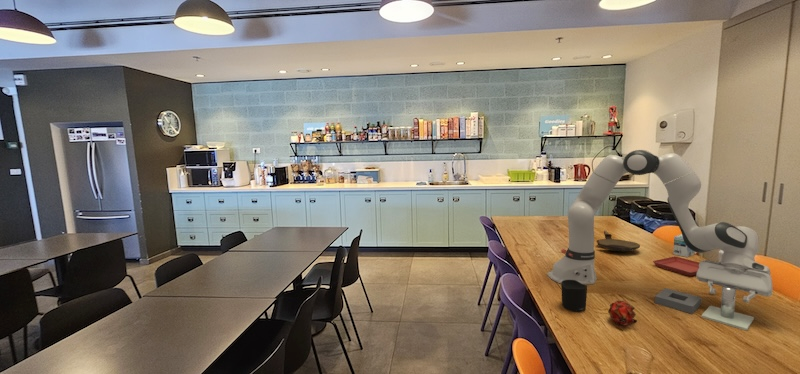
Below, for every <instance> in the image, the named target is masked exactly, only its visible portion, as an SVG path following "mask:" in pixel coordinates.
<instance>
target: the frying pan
mask: <svg viewBox="0 0 800 374" xmlns="http://www.w3.org/2000/svg"><path fill="white" fill-rule="evenodd" d="M603 234H604V238H601V239H597V240H596V244H597V246H600V247H602V248H604V249H607V250H609V251H612V252H630V251H635V250H637V249H639V248H640V247H641V244H640V243H637V242H634V241H630V240H629V241H628V240H625V239H624V240H623V239H616V238H615V239H614V238H612V234H611V233H609V232H608V231H607V230H603Z"/></svg>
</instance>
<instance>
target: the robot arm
mask: <svg viewBox="0 0 800 374" xmlns="http://www.w3.org/2000/svg"><path fill="white" fill-rule="evenodd" d="M625 174H631V175H635V176H642V175H643V176H645V175H647V174H654V175H656V176H657V177H658V178H659V180H660V181H661V183H662V184H663V186H664V187H665V189H666V191H667V196H668V197H667V204H668V207H669V210H670V211H671V214H672V216H673V218H674V219H675V221H676V224H677V225H678V228H679V230H680V233H681V234H682V236H683V240H684V242H685V244H686V246H687V247H688V248H690V249H691V250H693V251H695V253H699V254H702V253H707V252H711V251H714V250H723V251H724V253H723V255H722V259H721V262H718V261H715V260H710V259H704V260H700V261H699V269H698V271H697V274H696V275H695V276H696V279H697V280H698V281H699V282H703V283H706V284H707V286H708V288H709V292H708V293H709V294H710V295H715V296H716V294H717V293H716V292H717V289H716V288H713V287H714V285H716V286H720V287H722V286H730V287H733V288H735V289H736V291H737V290H738V291H741V292H746V293H749V294H748V295H743V297H742V303H743V302H744V303H746V304H749V303H750V300H752V299H753V298H756V295H759V296H762V297H763V296H764V297H768V298H769V297H771V296H773V292H774V291H773V278H772V276H771V269H770V268H769V266H768V265H765V264H761V263H759V262H757V261H755V257H756V255H758V250H759V244H760V241H759V235H758V233H757V232H756V231H755V230H754V229H752V228H751V227H748V226H744V225H741V226H739V225H737V226H735V225H733V224H732V223H729V222H724V221H722V222H716V223H712V224H708V225H704V226H698V225H697V223H696V221H695V220H694V216H693V214H692V213H691V211H690V209H689V205H690V202H691V201H692V200H693V199H695V197H696V196H697V195H698V194H699V192H700V191H701V188H702V181H701V179H700V178H699V176H698V174H697V173H696V172H695V170H694V169H693V168H692V167H691V166H690V165H689V163H688V162H686V160H685V159H684V158H683V157H682V156H680V155H679V154H677V153H673V152H672V153H671V152H669V153H665V154H663V155H659V156H657V155H655V154H653V153H652V152H651V151H648V150H645V149H638V150H637V149H636V150H632V151H630V152H628V153H627V154H626V155H625V156H623V157H622V156H619V155H615V154H609V155H607V156H605V157H603V159H602V160H600V162H599V163H598V165H597V166H596V167H595V168H594V170H593V171H592V173H591V175H590V176H589V177H588V179H587V180H586V181H585V183H584V185H583V186H582V189H580V192H579V193H578V195H577V196H576V198H575V199H574V200H573V202H572V204H571V206H569V207H568V211H567V225H568V227H567V228H568V248H567V250H566V249H565V248H562V249H561V250H560V252H561V253H562V254H564V256H563V257H561V258H560V259H558V260H557V261H555V262H554V263H553V264H552V265H553V266H552V270H551V271H547V277H548V278H549V279H551V280H552V281H553V282H556V283H559V284H561V282H562V281H564V280H576V281H578V282H580V283H581V284H583V285H595V282H596V281H597V279H598V278H597V274H596V269H595V258H596V252H595V215H596V213H597V212H598V210H599V209H600V208H601V206H602V205H603V203H604V202H605V201H606V200H607V198H608V197H609V196H610V194H611V193H612V191H613V190H614V189H615V187H616V185H618V183H619V181H620V180H621V178H622V177H623V176H624V175H625Z"/></svg>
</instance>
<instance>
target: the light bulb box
mask: <svg viewBox="0 0 800 374" xmlns="http://www.w3.org/2000/svg"><path fill="white" fill-rule="evenodd" d="M673 255H675V256H678V257H683V258H688V257H691V256H694V255H696V252H695V251H693V250H691V249H690V248H688V247H687V246H686V244H685V242H684V240H683V236H682V233H681V234H678V235H675V236H674V237H673Z"/></svg>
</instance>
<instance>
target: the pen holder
mask: <svg viewBox="0 0 800 374" xmlns="http://www.w3.org/2000/svg"><path fill="white" fill-rule="evenodd" d="M560 284H561V305H562V307H563V309H565V310H567V311H570V312H574V313H581V312H584V311H586V307H587V294H588V284H581V283H580V282H578V281H576V280H564V281H562V282H561V283H560Z"/></svg>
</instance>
